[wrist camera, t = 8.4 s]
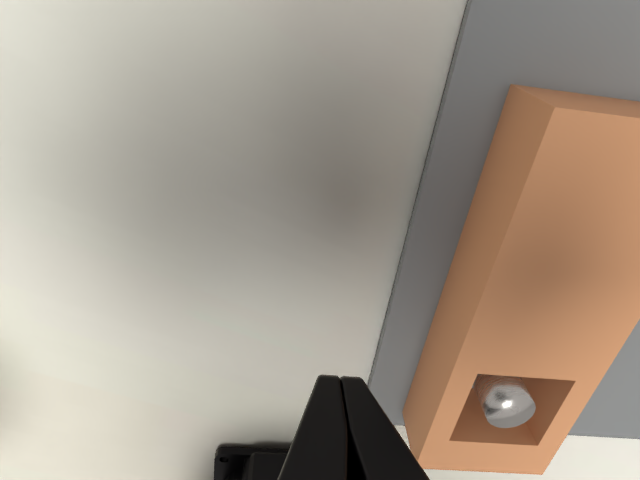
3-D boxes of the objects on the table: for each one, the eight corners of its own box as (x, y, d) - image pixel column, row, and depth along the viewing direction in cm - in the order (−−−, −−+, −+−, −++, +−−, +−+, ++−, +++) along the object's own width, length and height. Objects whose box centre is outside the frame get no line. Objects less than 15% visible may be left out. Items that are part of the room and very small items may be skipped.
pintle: (498, 375, 22) (525, 429, 19) (458, 372, 21) (479, 426, 19) (512, 343, 21) (543, 396, 18) (470, 340, 20) (495, 393, 18)
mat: (687, 435, 25) (692, 442, 25) (359, 416, 23) (360, 423, 23) (1031, 19, 15) (1048, 20, 14) (486, -72, 13) (491, -73, 13)
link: (515, 419, 23) (542, 474, 21) (402, 412, 23) (415, 468, 20) (679, 106, 15) (755, 133, 13) (510, 83, 15) (555, 107, 12)
